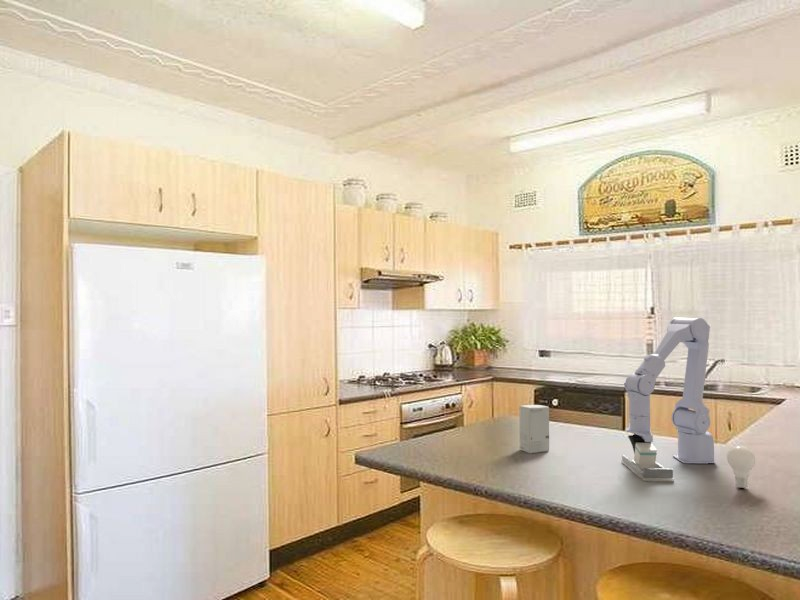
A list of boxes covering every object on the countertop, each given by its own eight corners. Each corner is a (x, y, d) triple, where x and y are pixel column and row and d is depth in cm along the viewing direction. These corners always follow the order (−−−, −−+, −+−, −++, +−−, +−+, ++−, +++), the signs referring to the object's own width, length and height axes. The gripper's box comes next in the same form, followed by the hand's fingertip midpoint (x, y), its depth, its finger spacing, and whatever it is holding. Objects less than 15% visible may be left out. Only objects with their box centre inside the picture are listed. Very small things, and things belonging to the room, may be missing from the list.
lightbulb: (756, 494, 138) (755, 450, 139) (727, 489, 142) (726, 447, 142) (755, 487, 144) (755, 445, 144) (727, 483, 147) (726, 442, 147)
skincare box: (529, 454, 177) (529, 408, 178) (518, 449, 183) (518, 405, 183) (550, 451, 181) (550, 406, 181) (539, 447, 186) (538, 403, 186)
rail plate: (648, 462, 167) (648, 452, 167) (674, 481, 149) (673, 469, 149) (621, 462, 167) (621, 451, 167) (643, 481, 149) (643, 469, 149)
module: (649, 460, 162) (651, 442, 160) (654, 468, 158) (657, 450, 156) (633, 460, 162) (635, 442, 160) (638, 468, 158) (640, 450, 157)
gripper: (617, 410, 170) (618, 453, 170) (634, 419, 156) (635, 467, 156) (641, 410, 170) (641, 454, 170) (660, 419, 155) (660, 467, 155)
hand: (640, 460), depth 163 cm, fingers closed
